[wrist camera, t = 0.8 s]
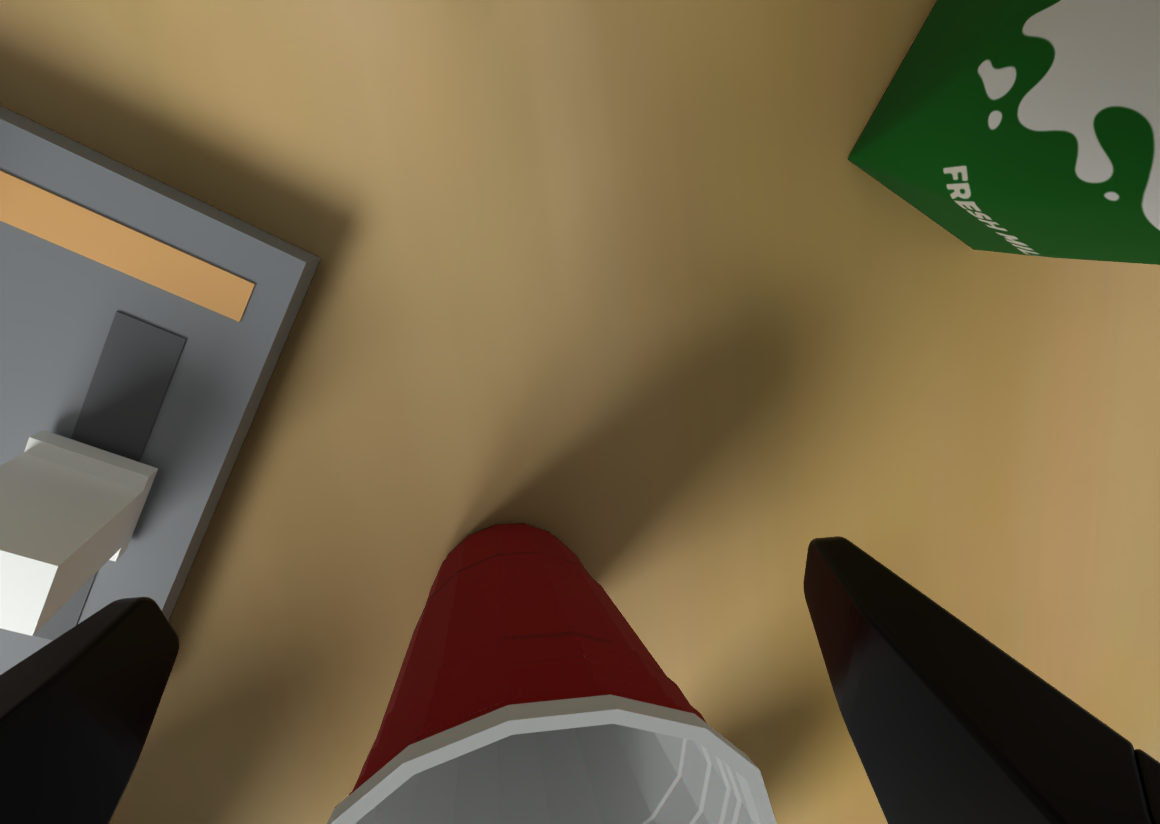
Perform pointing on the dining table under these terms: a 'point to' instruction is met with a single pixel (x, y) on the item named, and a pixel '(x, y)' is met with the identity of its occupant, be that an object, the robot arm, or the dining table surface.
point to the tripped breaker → (62, 523)
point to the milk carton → (1029, 127)
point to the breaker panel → (133, 343)
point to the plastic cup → (541, 708)
